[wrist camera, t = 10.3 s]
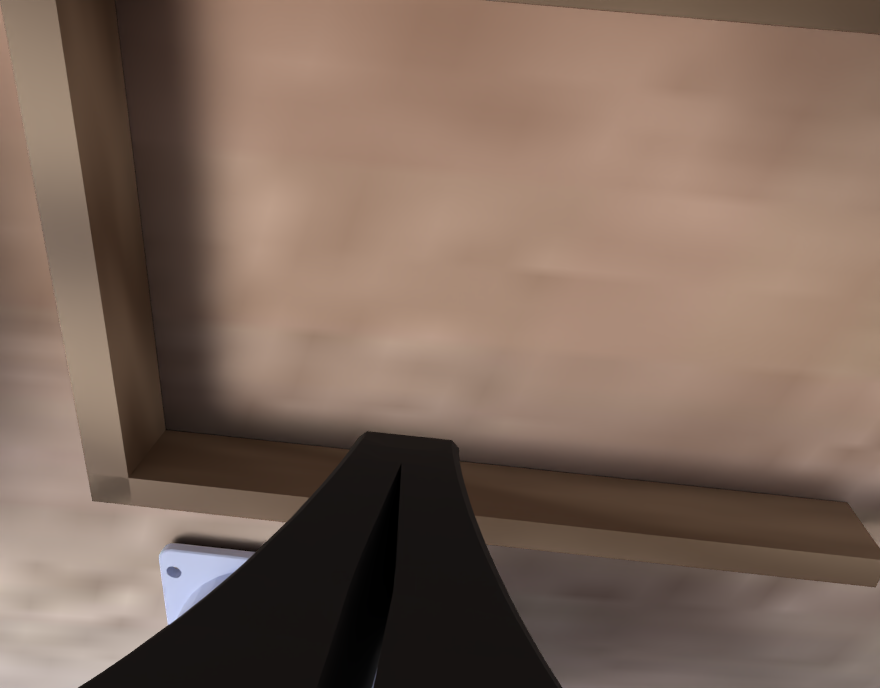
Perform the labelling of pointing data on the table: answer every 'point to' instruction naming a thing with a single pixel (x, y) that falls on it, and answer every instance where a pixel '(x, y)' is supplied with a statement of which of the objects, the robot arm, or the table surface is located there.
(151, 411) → the brown wooden flat frame
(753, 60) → the table surface
